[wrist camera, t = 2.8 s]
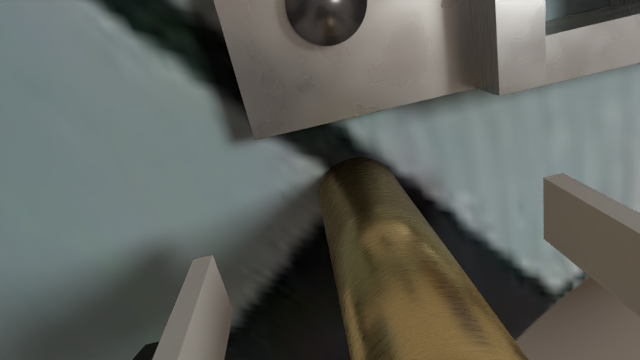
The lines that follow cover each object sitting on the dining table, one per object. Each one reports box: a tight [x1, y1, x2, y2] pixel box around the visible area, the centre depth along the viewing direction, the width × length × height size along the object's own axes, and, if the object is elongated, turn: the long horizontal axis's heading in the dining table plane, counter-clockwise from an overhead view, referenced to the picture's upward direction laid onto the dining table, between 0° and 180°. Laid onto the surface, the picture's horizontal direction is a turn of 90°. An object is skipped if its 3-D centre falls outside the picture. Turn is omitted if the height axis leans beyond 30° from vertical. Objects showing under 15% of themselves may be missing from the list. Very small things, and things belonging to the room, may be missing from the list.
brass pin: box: [319, 158, 528, 360], centre depth 13 cm, size 5×5×14 cm
